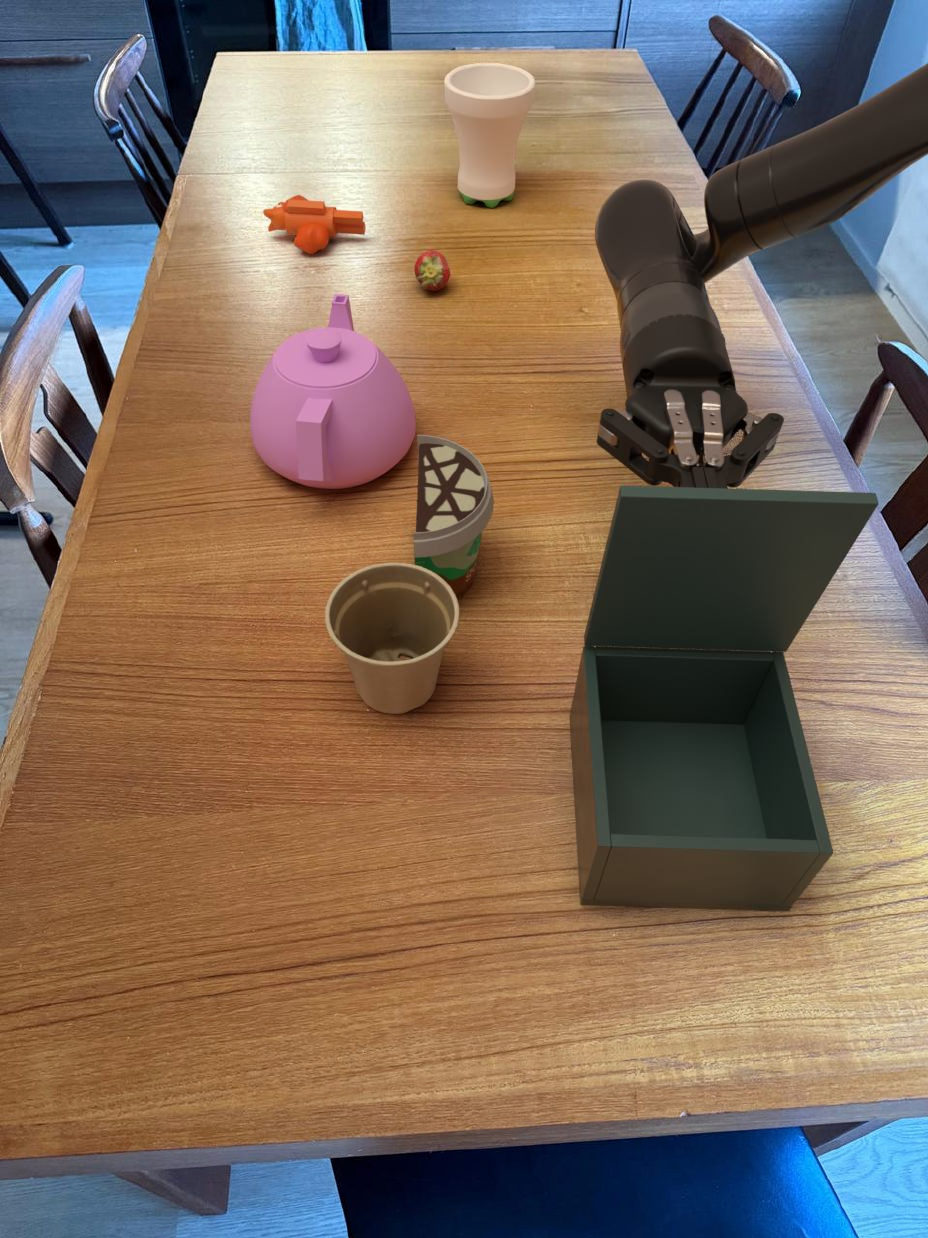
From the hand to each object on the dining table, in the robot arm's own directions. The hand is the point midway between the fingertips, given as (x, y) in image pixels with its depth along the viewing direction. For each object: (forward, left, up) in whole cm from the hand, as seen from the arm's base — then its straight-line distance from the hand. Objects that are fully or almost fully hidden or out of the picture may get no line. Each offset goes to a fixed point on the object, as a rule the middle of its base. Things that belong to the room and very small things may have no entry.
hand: (707, 520), depth 56 cm
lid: (0, +4, -1) cm, 4 cm away
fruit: (+20, -57, -18) cm, 63 cm away
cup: (+14, -80, -18) cm, 83 cm away
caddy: (0, +10, -18) cm, 21 cm away
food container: (+16, -12, -18) cm, 27 cm away
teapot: (+28, -28, -18) cm, 43 cm away
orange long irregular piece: (+35, -66, -18) cm, 77 cm away
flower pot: (+20, 0, -18) cm, 27 cm away
